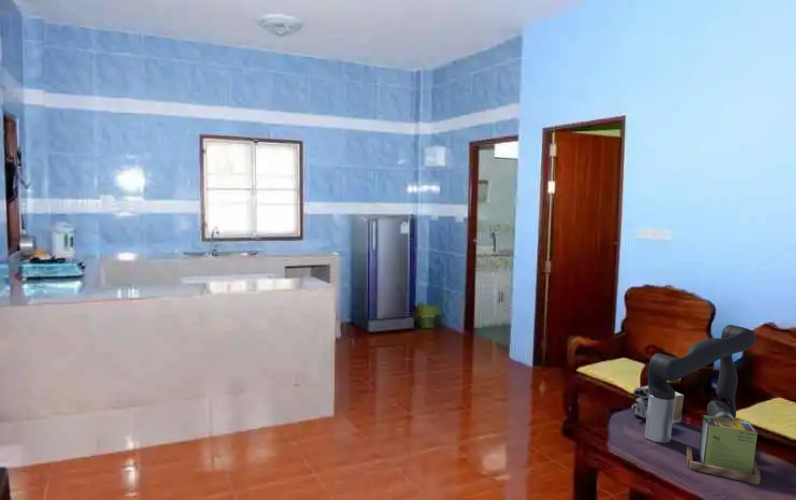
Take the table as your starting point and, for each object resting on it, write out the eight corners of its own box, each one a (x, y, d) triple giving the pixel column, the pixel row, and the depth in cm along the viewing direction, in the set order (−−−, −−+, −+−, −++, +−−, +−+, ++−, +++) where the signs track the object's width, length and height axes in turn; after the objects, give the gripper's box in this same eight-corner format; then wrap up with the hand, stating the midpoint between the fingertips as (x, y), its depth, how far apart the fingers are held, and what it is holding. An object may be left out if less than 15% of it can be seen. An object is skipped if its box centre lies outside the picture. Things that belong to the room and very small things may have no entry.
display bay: (687, 468, 202) (688, 461, 201) (686, 453, 214) (687, 446, 214) (760, 485, 192) (761, 477, 192) (755, 467, 205) (755, 461, 205)
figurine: (624, 418, 245) (627, 384, 244) (643, 415, 250) (647, 382, 249) (641, 427, 237) (645, 391, 235) (661, 423, 242) (664, 389, 240)
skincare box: (661, 418, 248) (664, 390, 247) (668, 417, 250) (671, 389, 249) (674, 423, 242) (677, 395, 241) (681, 422, 244) (684, 394, 243)
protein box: (753, 475, 199) (758, 432, 198) (703, 466, 204) (708, 424, 202) (744, 462, 209) (749, 421, 208) (697, 454, 214) (702, 414, 212)
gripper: (707, 411, 228) (710, 426, 213) (745, 418, 223) (751, 434, 207) (705, 429, 229) (707, 446, 213) (743, 437, 223) (749, 454, 208)
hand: (729, 440), depth 210 cm, fingers closed
